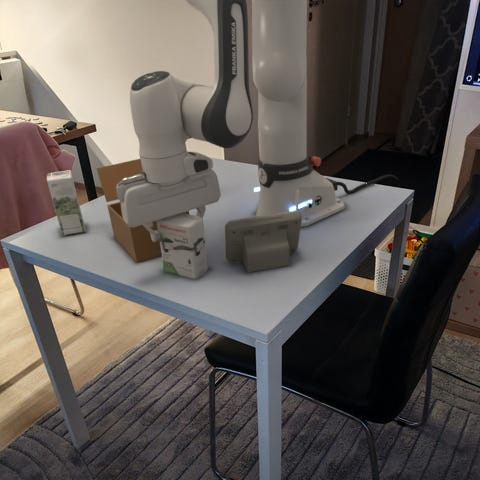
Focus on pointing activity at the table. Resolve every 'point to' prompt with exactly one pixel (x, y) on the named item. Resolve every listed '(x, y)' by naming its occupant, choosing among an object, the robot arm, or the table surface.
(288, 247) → the digital clock
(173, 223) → the ink box
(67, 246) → the table surface
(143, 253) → the carton
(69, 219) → the syrup box
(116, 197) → the flap
